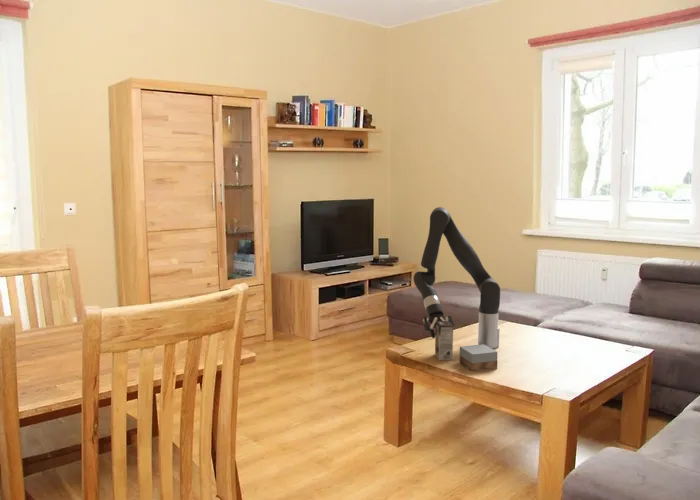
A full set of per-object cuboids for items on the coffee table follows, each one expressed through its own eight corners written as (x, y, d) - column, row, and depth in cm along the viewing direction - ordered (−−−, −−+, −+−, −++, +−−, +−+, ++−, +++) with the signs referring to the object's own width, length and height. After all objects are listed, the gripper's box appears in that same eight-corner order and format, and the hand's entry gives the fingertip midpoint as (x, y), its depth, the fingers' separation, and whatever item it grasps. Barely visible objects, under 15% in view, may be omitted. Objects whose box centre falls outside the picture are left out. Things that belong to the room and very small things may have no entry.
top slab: (483, 352, 281) (483, 344, 280) (497, 360, 269) (497, 351, 269) (459, 355, 277) (459, 346, 277) (472, 363, 266) (472, 354, 265)
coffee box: (434, 354, 290) (435, 320, 288) (447, 354, 291) (448, 320, 288) (438, 360, 281) (439, 325, 279) (452, 360, 282) (453, 325, 279)
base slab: (483, 361, 281) (484, 352, 281) (497, 369, 270) (497, 360, 269) (459, 363, 278) (460, 355, 277) (472, 372, 266) (472, 363, 266)
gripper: (421, 303, 290) (430, 333, 281) (449, 302, 294) (459, 331, 285) (417, 312, 296) (425, 342, 287) (444, 310, 300) (454, 339, 291)
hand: (442, 336), depth 286 cm, fingers open, 8 cm apart
